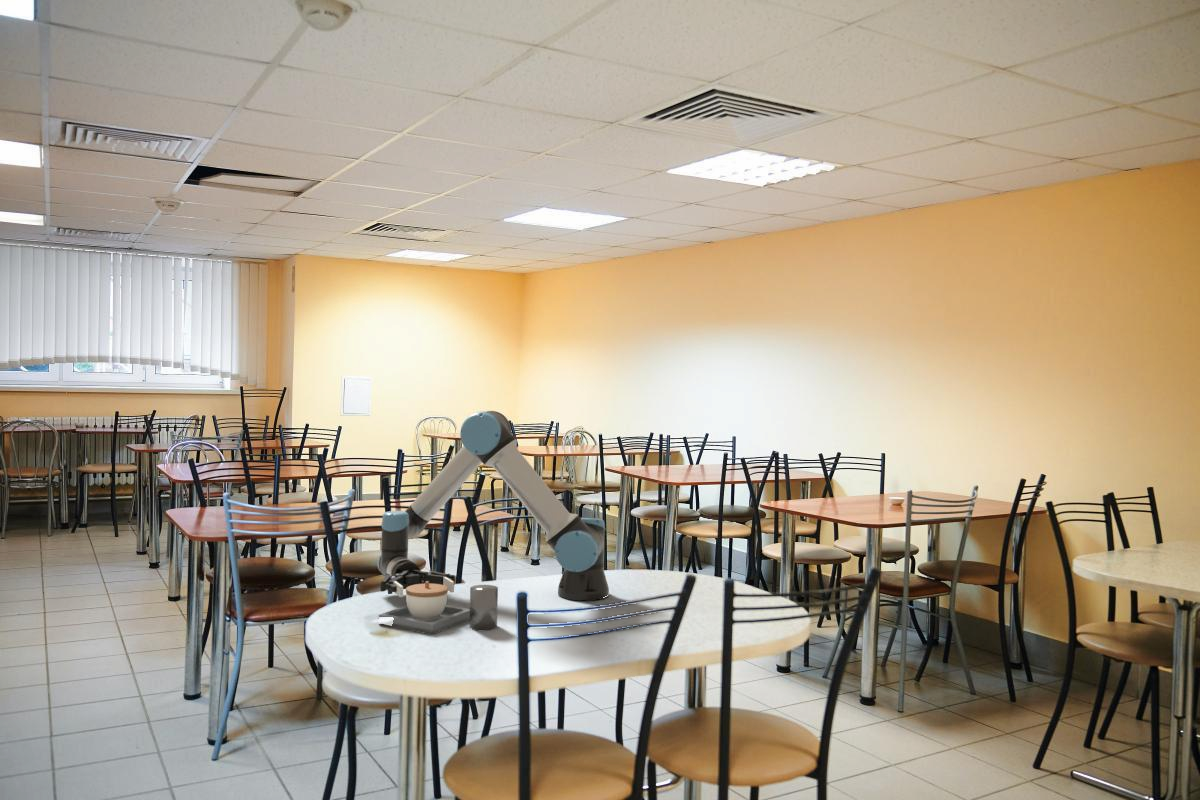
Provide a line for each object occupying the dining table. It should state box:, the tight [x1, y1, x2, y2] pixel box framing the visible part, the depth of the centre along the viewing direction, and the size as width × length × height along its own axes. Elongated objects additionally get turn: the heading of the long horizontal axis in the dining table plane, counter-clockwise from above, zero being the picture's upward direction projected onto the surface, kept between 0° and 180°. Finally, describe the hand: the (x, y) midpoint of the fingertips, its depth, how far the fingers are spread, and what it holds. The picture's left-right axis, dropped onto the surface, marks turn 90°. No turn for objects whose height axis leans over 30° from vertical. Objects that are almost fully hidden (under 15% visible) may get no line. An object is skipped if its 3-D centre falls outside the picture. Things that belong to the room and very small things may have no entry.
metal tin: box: [468, 584, 499, 631], centre depth 225 cm, size 7×7×10 cm
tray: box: [378, 604, 470, 635], centre depth 228 cm, size 17×17×2 cm
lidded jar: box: [405, 581, 449, 621], centre depth 228 cm, size 11×11×9 cm
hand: (427, 589), depth 227 cm, fingers open, 13 cm apart
